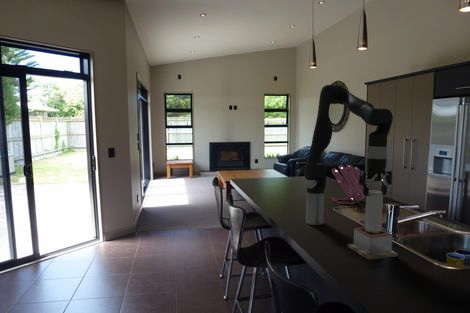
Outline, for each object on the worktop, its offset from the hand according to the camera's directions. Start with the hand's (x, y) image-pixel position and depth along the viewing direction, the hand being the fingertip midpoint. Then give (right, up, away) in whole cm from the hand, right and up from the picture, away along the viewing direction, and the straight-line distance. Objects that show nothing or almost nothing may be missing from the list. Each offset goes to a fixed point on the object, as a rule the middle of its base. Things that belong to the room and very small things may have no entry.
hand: (374, 195), depth 131 cm
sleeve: (0, -23, +2) cm, 23 cm away
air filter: (0, -23, +3) cm, 24 cm away
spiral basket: (+20, -16, +86) cm, 89 cm away
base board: (0, -24, +3) cm, 25 cm away
